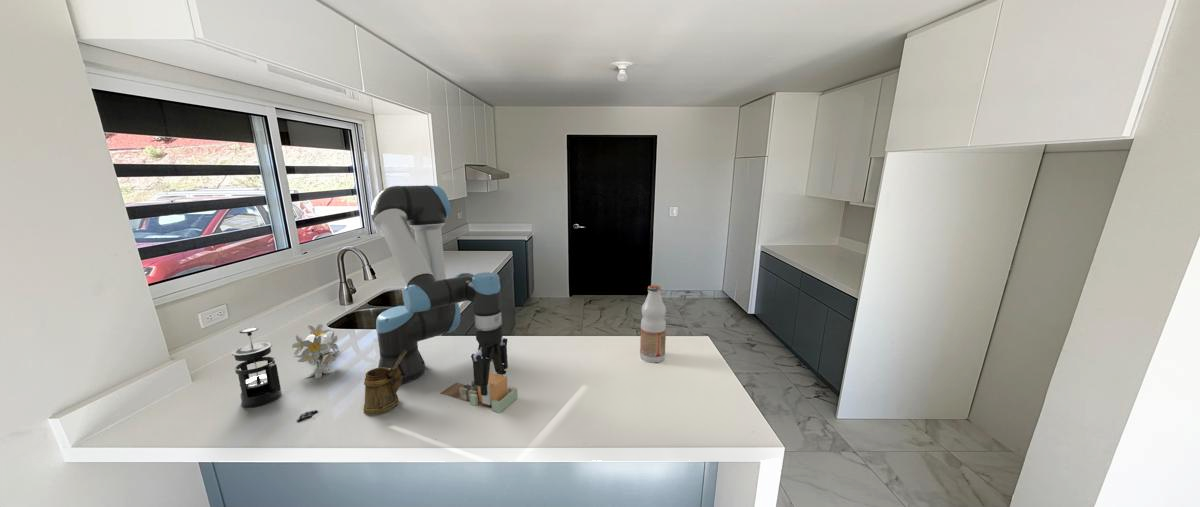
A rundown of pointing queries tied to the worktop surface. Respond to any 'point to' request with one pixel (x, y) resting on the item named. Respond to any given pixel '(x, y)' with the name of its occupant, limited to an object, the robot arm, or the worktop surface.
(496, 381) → the plug
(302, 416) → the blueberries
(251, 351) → the french press
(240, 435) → the worktop surface
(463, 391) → the board
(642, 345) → the fruit juice
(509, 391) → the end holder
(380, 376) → the wooden mug
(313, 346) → the flower vase
